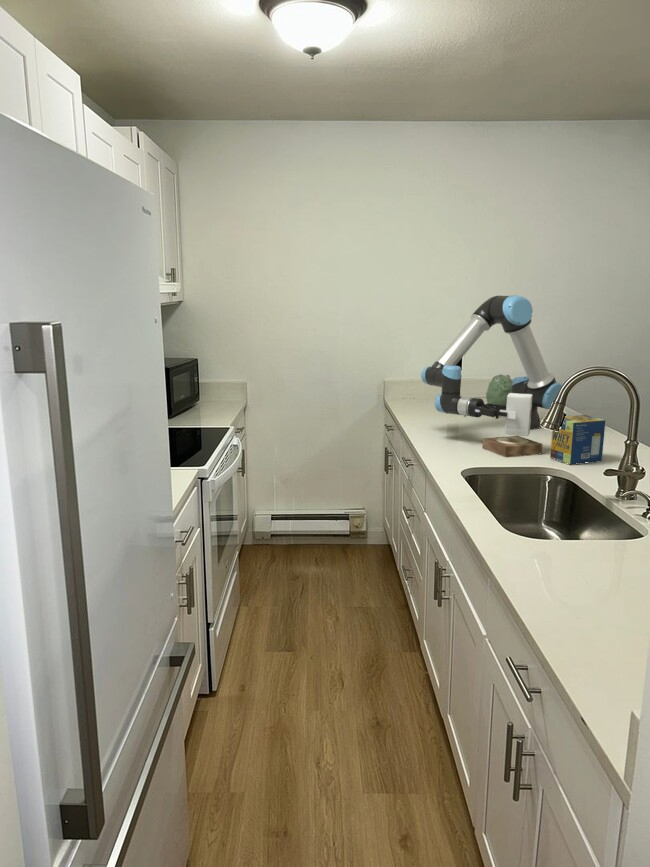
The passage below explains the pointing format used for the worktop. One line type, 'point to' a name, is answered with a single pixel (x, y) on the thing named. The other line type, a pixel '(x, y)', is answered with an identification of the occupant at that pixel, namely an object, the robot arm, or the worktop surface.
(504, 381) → the cabbage
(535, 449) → the pedestal
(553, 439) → the protein box
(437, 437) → the worktop surface
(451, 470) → the worktop surface
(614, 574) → the worktop surface
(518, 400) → the supplement box
